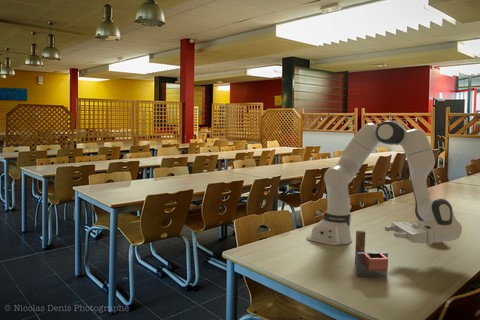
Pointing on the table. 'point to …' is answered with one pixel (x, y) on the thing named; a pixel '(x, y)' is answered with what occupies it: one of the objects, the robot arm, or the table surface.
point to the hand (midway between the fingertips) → (389, 231)
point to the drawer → (371, 264)
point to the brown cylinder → (360, 242)
